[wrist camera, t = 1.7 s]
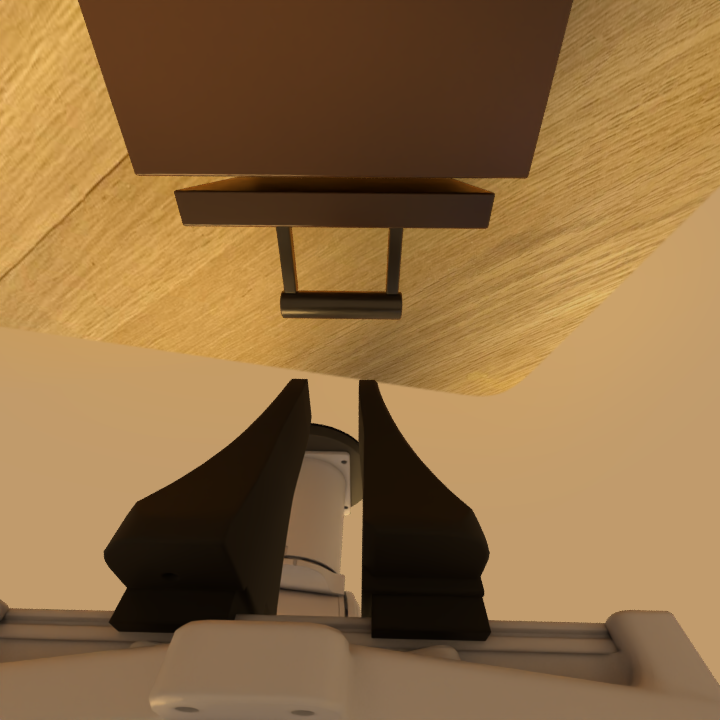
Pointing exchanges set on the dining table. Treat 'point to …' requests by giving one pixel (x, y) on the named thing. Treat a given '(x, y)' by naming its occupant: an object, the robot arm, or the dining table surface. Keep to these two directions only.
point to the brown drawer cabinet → (329, 85)
